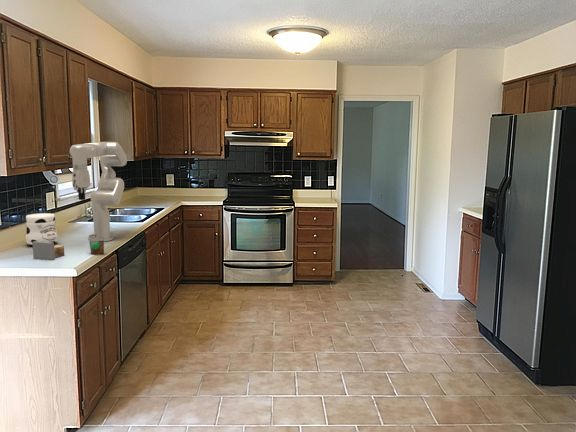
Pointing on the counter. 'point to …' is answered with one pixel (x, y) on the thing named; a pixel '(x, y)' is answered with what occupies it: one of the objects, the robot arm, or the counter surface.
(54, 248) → the oak bar
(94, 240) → the food container
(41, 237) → the milk container
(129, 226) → the counter surface
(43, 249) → the wall
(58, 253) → the cradle
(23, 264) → the counter surface
